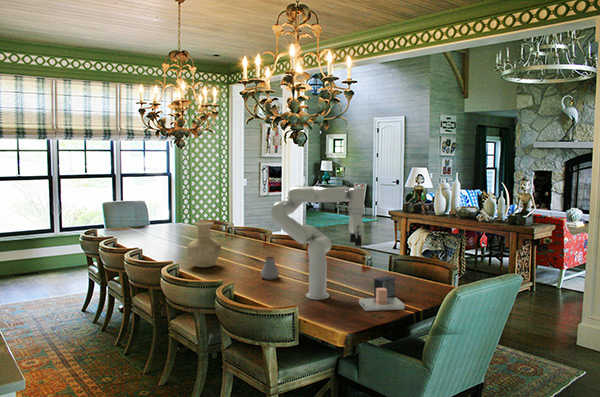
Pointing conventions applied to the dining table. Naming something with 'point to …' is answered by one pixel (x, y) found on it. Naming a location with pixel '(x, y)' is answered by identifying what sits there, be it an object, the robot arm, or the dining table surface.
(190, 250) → the vase
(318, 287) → the robot arm
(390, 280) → the small box
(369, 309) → the white rectangular slab
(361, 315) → the dining table surface
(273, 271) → the coffee pot
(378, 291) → the square peg
